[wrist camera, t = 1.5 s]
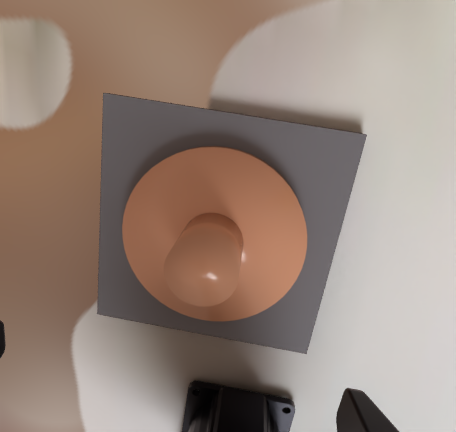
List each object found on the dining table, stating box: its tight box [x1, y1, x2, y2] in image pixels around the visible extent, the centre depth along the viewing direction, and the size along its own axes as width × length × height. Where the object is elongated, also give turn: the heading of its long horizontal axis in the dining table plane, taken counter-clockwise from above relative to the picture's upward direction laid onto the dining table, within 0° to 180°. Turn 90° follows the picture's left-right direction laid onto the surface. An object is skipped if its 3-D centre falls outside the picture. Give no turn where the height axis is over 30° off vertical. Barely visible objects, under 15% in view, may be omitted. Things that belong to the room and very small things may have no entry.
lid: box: [122, 146, 307, 321], centre depth 15 cm, size 9×9×4 cm
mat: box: [97, 93, 367, 354], centre depth 17 cm, size 12×12×1 cm
